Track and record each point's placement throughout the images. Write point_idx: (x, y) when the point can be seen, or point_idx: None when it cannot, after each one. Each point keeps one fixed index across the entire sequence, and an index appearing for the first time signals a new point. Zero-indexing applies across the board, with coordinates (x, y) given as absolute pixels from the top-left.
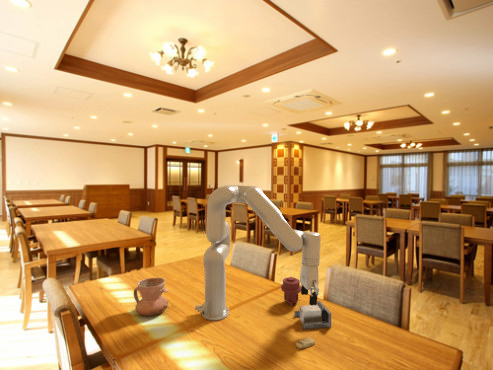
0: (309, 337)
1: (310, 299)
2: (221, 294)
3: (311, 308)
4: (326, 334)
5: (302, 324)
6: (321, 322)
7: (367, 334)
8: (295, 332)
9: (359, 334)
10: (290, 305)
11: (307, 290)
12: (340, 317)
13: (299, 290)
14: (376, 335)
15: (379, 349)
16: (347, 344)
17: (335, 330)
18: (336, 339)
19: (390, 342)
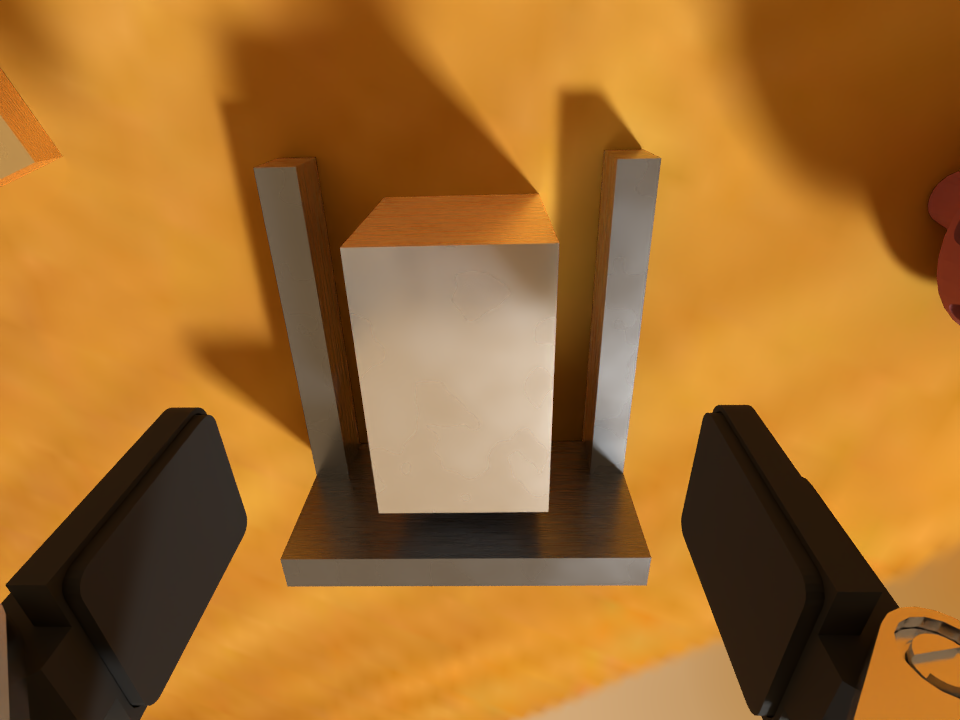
0: (21, 158)
1: (95, 507)
2: None
3: (440, 408)
4: (203, 379)
5: (298, 164)
6: (321, 411)
7: (236, 649)
8: (208, 14)
9: (231, 608)
10: (940, 182)
11: (713, 596)
12: (497, 593)
13: None
14: (228, 686)
15: None
16: (68, 481)
17: (281, 478)
18: (129, 431)
19: (153, 712)
